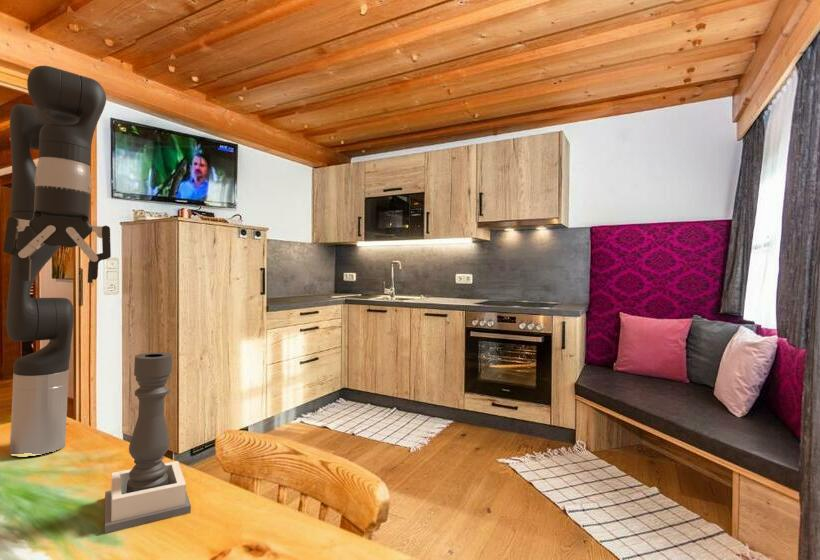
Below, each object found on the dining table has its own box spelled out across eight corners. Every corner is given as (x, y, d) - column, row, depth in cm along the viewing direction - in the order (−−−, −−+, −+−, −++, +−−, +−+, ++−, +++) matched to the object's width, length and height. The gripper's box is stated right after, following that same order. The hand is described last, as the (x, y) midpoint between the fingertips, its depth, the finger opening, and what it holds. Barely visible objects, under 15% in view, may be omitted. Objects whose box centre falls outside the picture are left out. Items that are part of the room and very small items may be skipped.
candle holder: (118, 500, 74) (125, 355, 73) (153, 485, 79) (160, 350, 79) (139, 511, 71) (146, 360, 71) (175, 495, 76) (182, 355, 76)
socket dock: (105, 498, 76) (106, 472, 76) (180, 482, 83) (181, 458, 83) (104, 533, 67) (106, 503, 67) (190, 512, 74) (192, 485, 73)
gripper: (113, 197, 82) (109, 282, 82) (12, 184, 73) (7, 279, 74) (113, 192, 75) (109, 284, 76) (3, 178, 67) (-2, 281, 67)
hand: (59, 281), depth 75 cm, fingers open, 8 cm apart
